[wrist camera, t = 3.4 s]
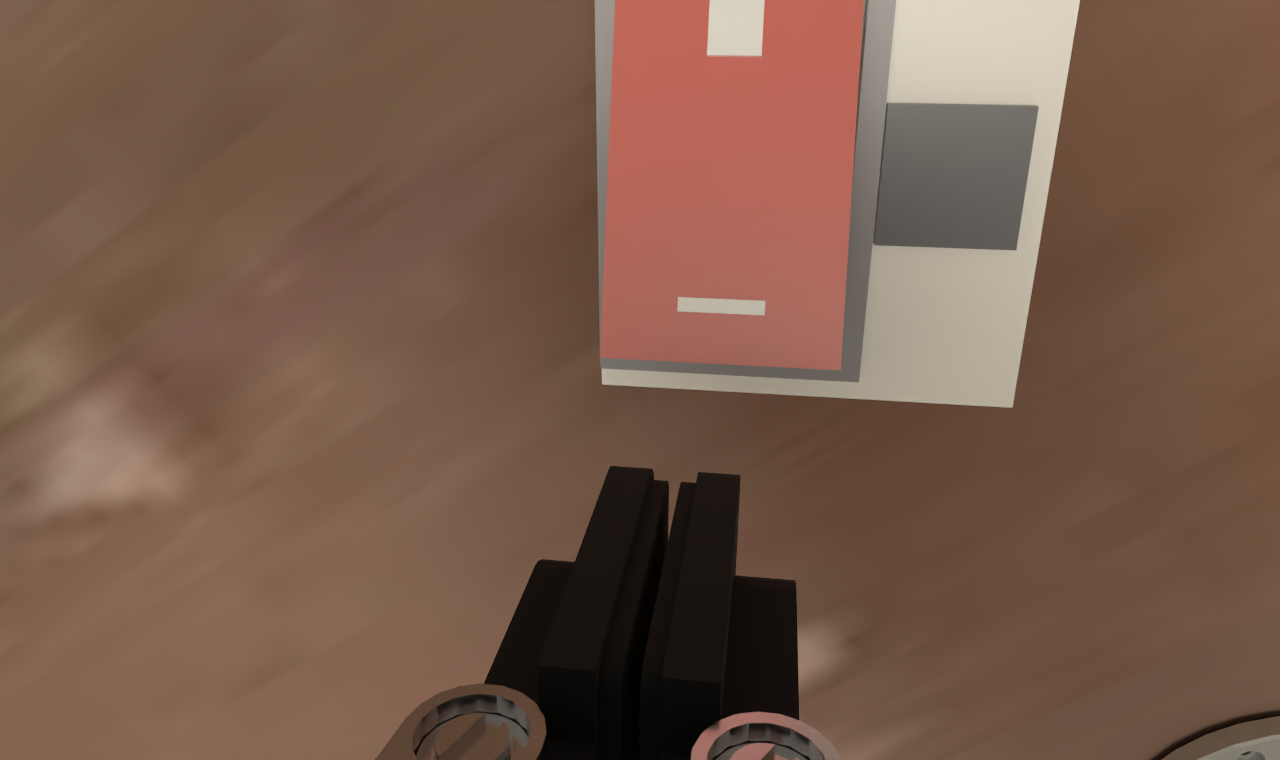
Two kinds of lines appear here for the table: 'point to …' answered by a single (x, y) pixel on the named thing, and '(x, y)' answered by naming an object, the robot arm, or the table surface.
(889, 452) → the table surface
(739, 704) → the robot arm
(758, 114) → the rocker
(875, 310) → the power strip
